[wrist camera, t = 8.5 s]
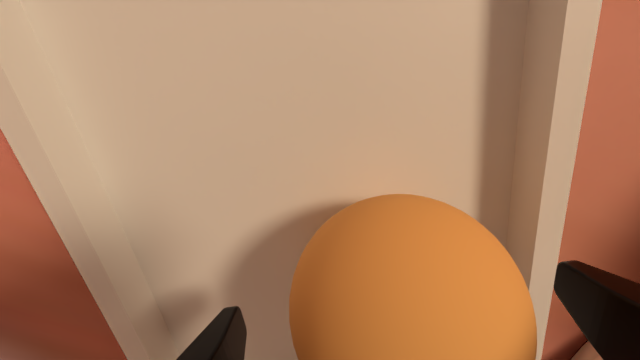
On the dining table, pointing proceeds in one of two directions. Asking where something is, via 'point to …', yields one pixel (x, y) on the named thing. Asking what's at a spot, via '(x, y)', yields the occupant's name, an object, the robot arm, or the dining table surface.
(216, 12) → the tray
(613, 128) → the dining table surface
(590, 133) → the dining table surface
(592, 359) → the bowl
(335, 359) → the ball
